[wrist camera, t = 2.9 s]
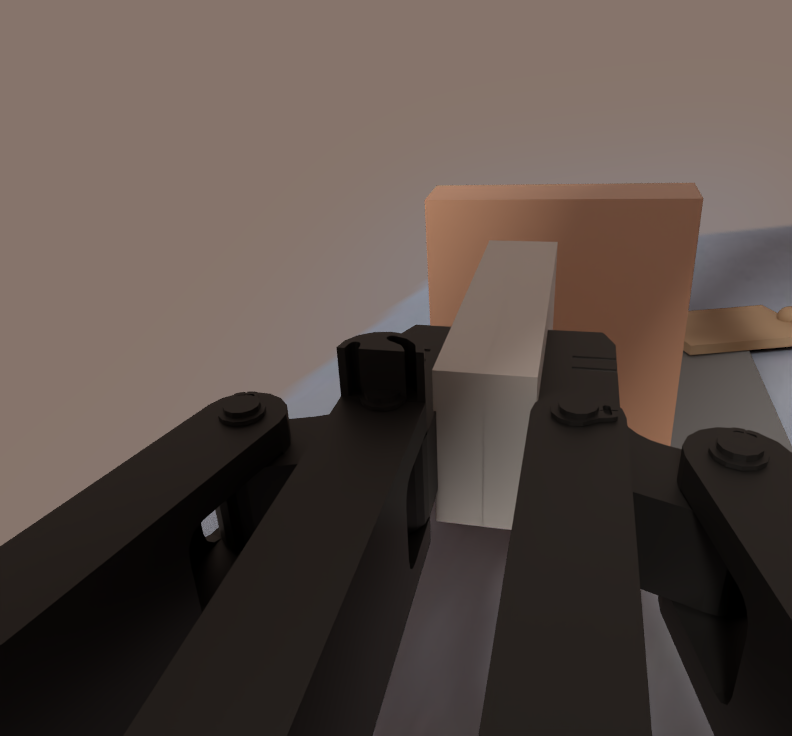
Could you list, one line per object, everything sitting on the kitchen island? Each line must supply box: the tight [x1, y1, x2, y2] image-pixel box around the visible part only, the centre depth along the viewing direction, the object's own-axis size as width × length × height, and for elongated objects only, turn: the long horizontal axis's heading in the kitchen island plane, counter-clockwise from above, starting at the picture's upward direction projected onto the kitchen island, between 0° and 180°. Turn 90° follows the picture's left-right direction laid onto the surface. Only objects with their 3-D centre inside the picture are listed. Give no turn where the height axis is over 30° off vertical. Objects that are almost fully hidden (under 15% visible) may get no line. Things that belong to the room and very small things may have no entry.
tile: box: [425, 183, 703, 446], centre depth 27 cm, size 9×2×14 cm, turn 76°
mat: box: [670, 350, 792, 452], centre depth 39 cm, size 20×16×1 cm
